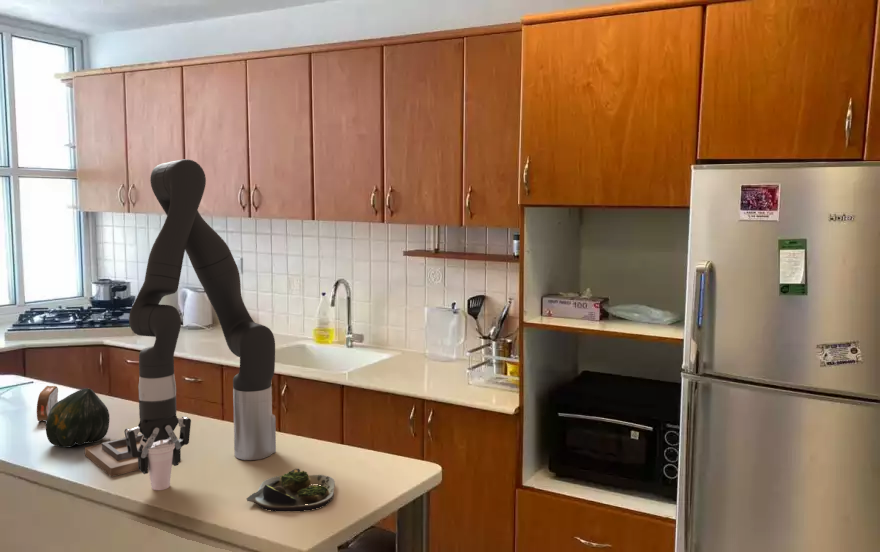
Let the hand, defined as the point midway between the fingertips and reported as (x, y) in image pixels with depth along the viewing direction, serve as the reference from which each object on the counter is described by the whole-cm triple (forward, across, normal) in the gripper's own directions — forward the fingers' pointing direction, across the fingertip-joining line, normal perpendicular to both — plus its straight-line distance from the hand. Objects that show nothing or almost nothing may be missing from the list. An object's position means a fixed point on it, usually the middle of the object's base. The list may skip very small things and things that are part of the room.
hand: (159, 468), depth 152 cm
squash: (+4, +4, -42) cm, 42 cm away
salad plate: (+5, -19, +24) cm, 31 cm away
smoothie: (+4, 0, 0) cm, 4 cm away
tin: (+5, +4, -70) cm, 71 cm away
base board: (+4, -2, -22) cm, 22 cm away
